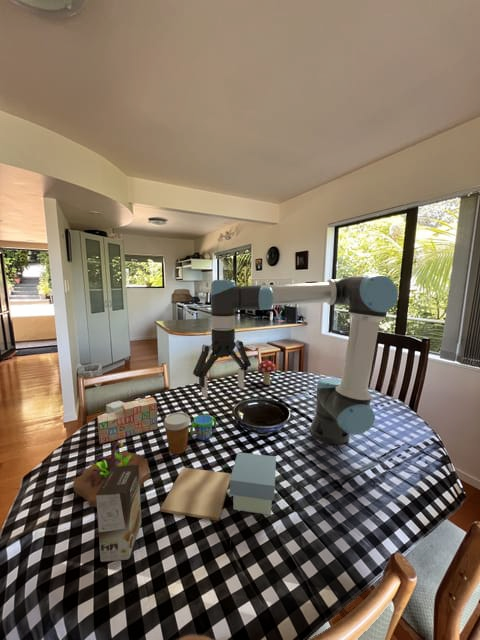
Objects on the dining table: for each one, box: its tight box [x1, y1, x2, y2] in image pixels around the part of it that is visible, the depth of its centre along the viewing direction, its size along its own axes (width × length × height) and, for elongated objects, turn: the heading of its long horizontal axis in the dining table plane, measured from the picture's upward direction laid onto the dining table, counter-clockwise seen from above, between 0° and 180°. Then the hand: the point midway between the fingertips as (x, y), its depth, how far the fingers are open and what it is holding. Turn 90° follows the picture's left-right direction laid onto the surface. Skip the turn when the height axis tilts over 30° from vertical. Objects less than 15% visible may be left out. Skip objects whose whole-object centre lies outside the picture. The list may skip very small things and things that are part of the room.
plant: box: [72, 441, 151, 509], centre depth 80 cm, size 20×20×11 cm
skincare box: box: [105, 400, 125, 414], centre depth 116 cm, size 6×6×7 cm
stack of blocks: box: [97, 397, 159, 445], centre depth 104 cm, size 21×6×12 cm, turn 121°
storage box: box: [232, 495, 272, 516], centre depth 74 cm, size 10×10×8 cm
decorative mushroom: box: [257, 359, 277, 386], centre depth 157 cm, size 11×11×15 cm
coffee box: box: [96, 465, 142, 562], centre depth 60 cm, size 9×6×16 cm
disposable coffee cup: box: [163, 412, 191, 455], centre depth 95 cm, size 10×10×12 cm
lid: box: [229, 451, 277, 502], centre depth 73 cm, size 12×12×4 cm
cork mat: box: [159, 467, 232, 521], centre depth 76 cm, size 16×16×1 cm
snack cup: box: [189, 414, 217, 441], centre depth 103 cm, size 11×8×7 cm
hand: (223, 391), depth 87 cm, fingers open, 13 cm apart
